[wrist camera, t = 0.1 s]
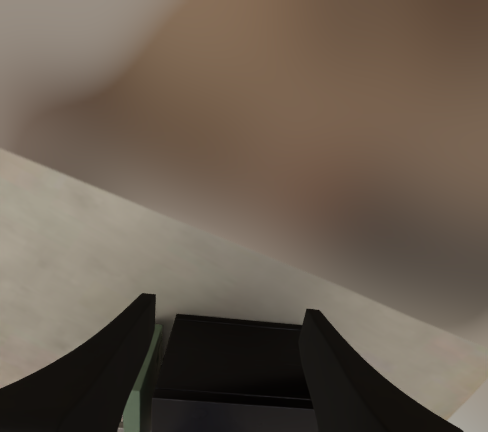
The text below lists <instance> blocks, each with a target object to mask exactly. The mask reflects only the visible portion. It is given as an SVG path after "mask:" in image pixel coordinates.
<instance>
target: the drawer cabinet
mask: <svg viewBox="0 0 488 432" xmlns="http://www.w3.org/2000/svg"><path fill="white" fill-rule="evenodd" d="M301 329H302V325H292V324H281V323H270V322H259V321H248V320H237V319H226V318H215V317H204V316H193V315H182V314H177V315H176V318H175V321H174V324H173V328H172V331H171V335H170V338H169V341H168V345H167V348H166V352H165V355H164V358H163V362H162V365H161V369H160V372H159V375H158V379H157V382H156V386H155V390H154V392H153V396H152V414H151V432H319V431H318V425H317V420H316V416H315V411H314V408H313V404H312V400H311V397H310V393H309V390H308V386H307V382H306V379H305V375H304V371H303V367H302V363H301V358H300V351H299V343H298V341H299V337H300V333H301Z"/></svg>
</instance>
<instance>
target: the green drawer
mask: <svg viewBox="0 0 488 432" xmlns="http://www.w3.org/2000/svg"><path fill="white" fill-rule="evenodd" d="M162 328H163V326H162V325H157V324H155V331H154V334H153V338H152V341H151V344H150V348H149V351H148V353H147V356H146V358H145V360H144V363H143V365H142V368H141V370H140V372H139V375H138V377H137V379H136V382H135V384H134V386H133V389H132V391H131V393H130V396H129V398H128V401H127V404H126V406H125V409H124V412H123V422H120V424H119V427H118V430H117V432H151V414H152V396H153V392H154V390H155V386H156V382H157V379H158V375H159V372H160V369H161V357H162Z"/></svg>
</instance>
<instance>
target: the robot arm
mask: <svg viewBox="0 0 488 432" xmlns="http://www.w3.org/2000/svg"><path fill="white" fill-rule="evenodd" d="M155 304H156V294H146V293H142V294H141V295H140V296H139V297H138V298H136V299H135V300H134V301H133V302H132V303H131V304H130V305H129V306H128V307H127V308H126V309H125V310H124V311H123V312H122V313H121V314H119V315H118V316H117V317H116V318H115V319H114V320H113V321H112V322H110V323H109V324H108V325H107V326H106V327H104V328H103V329H102V330H101V331H99V332H98V333H97V334H96V335H94V336H93V337H92V338H90V339H89V340H88V341H86V342H85V343H83V344H82V345H80V346H79V347H78V348H76V349H75V350H73V351H72V352H70V353H68V354H67V355H65V356H63V357H62V358H60V359H58V360H57V361H55V362H53V363H51V364H50V365H48V366H46V367H44V368H42V369H40V370H39V371H37V372H35V373H33V374H31V375H29V376H27V377H25V378H23V379H21V380H19V381H16V382H14V383H12V384H10V385H7V386H5V387H3V388H1V389H0V432H117V430H118V427H119V424H120V421H121V418H122V415H123V412H124V409H125V406H126V404H127V401H128V398H129V396H130V393H131V391H132V389H133V386H134V384H135V382H136V379H137V377H138V375H139V372H140V370H141V368H142V365H143V363H144V360H145V358H146V356H147V353H148V351H149V348H150V344H151V341H152V338H153V334H154V331H155ZM298 343H299V351H300V358H301V363H302V367H303V371H304V375H305V379H306V382H307V386H308V390H309V393H310V397H311V400H312V404H313V408H314V411H315V416H316V420H317V425H318V431H319V432H463V431H462V430H461V429H460V428H458V427H456V426H454V425H453V424H451V423H449V422H448V421H446V420H444V419H443V418H441V417H439V416H438V415H436V414H434V413H433V412H431V411H430V410H428V409H427V408H425V407H424V406H422V405H421V404H419V403H418V402H416V401H415V400H413V399H412V398H410V397H409V396H408V395H406V394H405V393H403V392H402V391H401V390H400V389H398V388H397V387H396V386H394V385H393V384H392V383H390V382H389V381H388V380H387V379H385V378H384V377H383V376H382V375H381V374H380V373H378V372H377V371H376V370H375V369H374V368H373V367H372V366H370V365H369V364H368V363H367V362H366V361H365V360H364V359H363V358H362V357H361V356H360V355H359V354H358V353H357V352H356V351H355V350H354V349H353V348H352V347H351V346H350V345H349V344H348V343H347V341H346V340H345V339H344V338H343V337H342V336H341V335H340V334H339V333H338V331H337V330H336V329H335V328H334V327H333V326H332V324H331V323H330V322H329V321H328V320H327V319H326V317H325V316H324V315H323V314H322V313H321V312H320V311H319V310H314V309H306V313H305V317H304V321H303V325H302V329H301V333H300V337H299V341H298Z"/></svg>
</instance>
